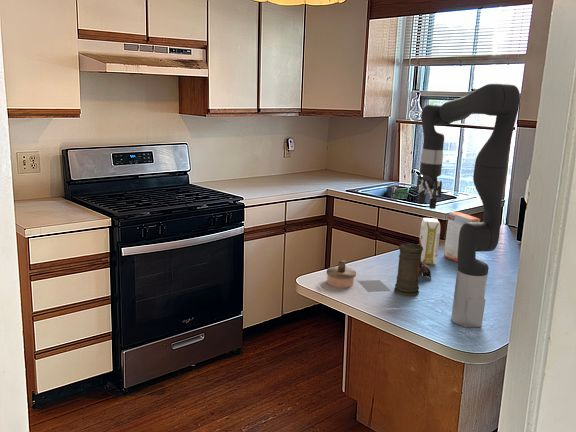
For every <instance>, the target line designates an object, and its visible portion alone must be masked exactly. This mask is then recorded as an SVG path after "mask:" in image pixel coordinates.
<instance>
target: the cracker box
mask: <svg viewBox="0 0 576 432" xmlns="http://www.w3.org/2000/svg"><path fill="white" fill-rule="evenodd" d="M447 217H448V219H447V227H446V234H445V235H446V236H445V243H444V250H443V256H444V257H445V258H447V259H450V260H452V261H454V262H456V263H458V260H457V256H458V243H459V233H460V229H461V227H462V225H463V224H464V223H467V222H481V218H478V217H476V216H473V215H469V214H466V213H463V212H461V211H449V212H448V216H447Z"/></svg>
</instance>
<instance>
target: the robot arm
mask: <svg viewBox="0 0 576 432" xmlns="http://www.w3.org/2000/svg"><path fill="white" fill-rule="evenodd" d="M520 102H521V92H520V91H519V88H518V87H517V86H516V85H514V84H510V83H509V84H508V83H487V84H484V85H483V86H481V87H480V88H478V89H476V90H474V91H473V92H470V93H468V94H467V95H464V96H463V97H460V98H455V99H452V100H449V101H446V102H444V103H443V104H426V105H425V106H423V108H422V110H421V114H420V121H421V125H422V132H423V142H422V151H421V156H420V163H419V165H420V166H419V174H418V175H417V181H416V187H415V190H416V191H417V192H418V202H417V203H418V205H424V204H425V203H426V193H428V194H429V196H430V197H429V205H428V206H429V207H428V208H429V209H430V210H435V209H436V208H437V207H436V206H437V200H438V199H440V198H441V196H442V187H443V181H442V180H438V178H439V177H440V176H441V175H442V170H443V169H442V168H443V162H444V161H443V160H444V145H445V135H444V134H443V133H441V132H439V131H436V128H435V126H443V127H444V126H448V125H450V124H452V123H455V122H459V121H462V120H465V119H467V118H468V117H470V116H471V115H486V116H490V117H491V116H492V117H494V116H495V122H494V126H493V131H492V132H491V135H490V136H489V138H488V139H487V140H486V142H485V143H484V145H483V146H482V147H481V149H480V150H479V152H478V153H477V155H476V159H475V162H474V168H473V174H472V176H473V177H472V180H473V184H474V185H473V186H474V187H475V190H476V192H477V194H478V196H479V198H480V201H481V202H482V206H483V218H482V221H480V222H467V223H464V224H463V225H462V227H461V229H460V233H459V243H458V256H457V260H458V262H457V270H456V277H455V286H454V292H453V293H454V294H453V301H452V309H451V317H450V321H452V323H454V324H456V325H459V326H461V327H463V328H464V329H465V328H479V327H481V328H482V326H483V319H484V312H485V307H486V305H485V304H486V298H485V297H486V296H485V295H486V290H487V289H486V287H487V281H488V274H489V264H488V263H486V262H485V261H483V260H480V259H477V257H476V254H477V253H476V252H485V253H486V252H492V251H495V250H496V248H497V246H498V244H499V241H500V232H501V231H500V230H501V211H502V201H503V193H504V188H505V187H504V186H505V181H506V176H507V171H508V160H509V153H510V149H511V148H510V147H511V141H512V136H513V133H514V129H515V124H516V121H517V117H518V112H519V108H520Z"/></svg>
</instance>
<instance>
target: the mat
mask: <svg viewBox="0 0 576 432" xmlns="http://www.w3.org/2000/svg"><path fill="white" fill-rule="evenodd" d="M357 282H358V283H359V284H360V285H361V286H362V287H363V288H364V290H366V291H367V292H369V293H370V292H391V291H392V290H391V289H390V288H389V287H388V286H387V285H385V283H384V282H383V281H381V280H380V279H377V280H375V279H373V280H372V279H371V280H370V279H369V280H357Z"/></svg>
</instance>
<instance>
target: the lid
mask: <svg viewBox="0 0 576 432" xmlns="http://www.w3.org/2000/svg"><path fill="white" fill-rule="evenodd" d="M346 264H347V263H346V260H342V259H339V260H338V265H337V266H331V267H328V268H327V269H326V275H329V276H331V277H334V278H339V279H350V278H354V279H355V278H356V275H357V271H356V270H355V269H353V268H351V267H346Z"/></svg>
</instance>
